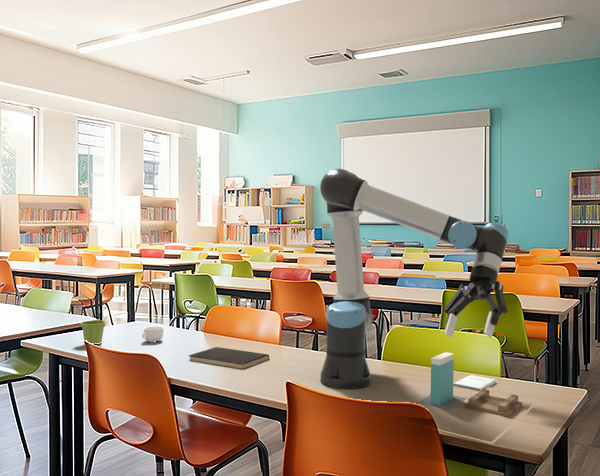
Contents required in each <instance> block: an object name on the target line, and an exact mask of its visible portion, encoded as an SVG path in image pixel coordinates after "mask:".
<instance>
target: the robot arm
mask: <svg viewBox="0 0 600 476" xmlns="http://www.w3.org/2000/svg"><path fill="white" fill-rule="evenodd" d="M320 181H321V182H320V185H319V187H320V194H321V196H322V198H323V200H324V201H325V202H326V212H327V216H328V217H330V219H332V220H331V221H332V231H333V233H332V234H333V243H334V244H333V245H334V257H335V258H334V259H335V261H334V262H335V272H336V273H335V274H336V275H335V276H336V287H337V288H336V289H337V293H336V294H335V295H334V296H333V303H332V304H329V306H328V307H327V310H326V315H325V318H326V357H325V358H324V359H325V360H324V362H323V365H322V368H321V371H320V377H319V378H320V383H321V384H323V385H325V386H327V387H330V388H336V389H347V390H348V389H352V390H353V389H359V388H361V389H362V388H364V387H368V386H369V385H371V381H372V379H371V378H372V374H371V372H370V369H369V365H368V361H367V359H366V334H367V333H368V332H369V331H370V329H371V327H372V324H373V319H374V318H373V316H374V315H373V311H372V310H371V302H370V295H369V294H368V293H367V292H366V291H365V285H364V274H363V273H364V271H363V269H364V268H363V256H362V255H363V254H362V244H361V230H360V216H361V215H362V214H363V212H367V213H369V214H372V215H374V216H377V217H380V218H382V219H385V220H387V221H390V222H393V223H395V224H396V225H397V224H398V225H400V226H403V227H405V228H408V229H411V230H414V231H416V232H418V233H422V234H424V235H426V236H429V237H432V238H434V239H437V240H440V241H442V242H444V243H447V244H450V245H451V246H454V247H456V248H458V249H467V250H471V251H473V252H476V254H475V258H474V261H473V264H472V268H471V271H470V273H469V274H470V275H469V284H468V285H463V284H460V285H459V287H458V289H457V291H456V293H455V294H454V295H453V297H452V298H451V299H450V301H449V302H448V303H447V305H446V306H445V307H444V309H443V312H444V313H446V315H447V319H446V321H445V324H446V326H445V329H444V334H445V336H447V337H448V338H453V335H454V332H455V328H456V325H457V322H458V315H459V314H460V313H461V312H462V311H463V310H464V309H465V308H466V307H467V306H469V304H470V303H473V302H474V301H479V300H482V301H484V300H486V302H487V304H488V306H489V307H490V310H491V311H489V312H488V315H487V318H486V323H485V327H484V330H483V334H485V335H486V336H487V337H488V338H492V337H493V334H494V331H495V326H497V324H498V322H499V318H500V316H501V314H507V313H508V308H507V304H506V300H505V294H504V285H503V284H502V283H501V282H500V281H498V275H499V272H500V268H501V264H502V262H503V261H502V260H503V258H504V255H505V250H506V246H507V245H508V238H509V230H508V228H507V227H506V226H504V225H503V224H500V223H497V222H494V223H493V222H489V223H486V224H485V226H484V227H481V226H477V225H475V224H472V223H471V222H469V221H468V220H462V219H460V218H458V217H454V216H451V215H449V214H447V213H444V212H441V211H438V210H435V209H433V208H430V207H428V206H424V205H422V204H419V203H417V202H414V201H413V200H412V201H411V200H410V199H406V198H404V197H401V196H398V195H396V194H393V193H390V192H388V191H386V190H383V189H381V188H377V187H375V186H373V185H369V183H368V181H367V180H365V179H362V178H360V177H359V176H358V175H356V174H355V173H354V172H353V173H352V172H350V171H349V170H347V169H344V168H335V169H332V170H331V169H330V170H329V171H327V173H325V174H324V176H323V177H322V179H321V180H320ZM493 291H494V295H495V299H496V302H495V300H494V297H493V296H492V294H491V293H492V292H493Z"/></svg>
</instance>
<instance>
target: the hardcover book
mask: <svg viewBox="0 0 600 476" xmlns="http://www.w3.org/2000/svg"><path fill="white" fill-rule="evenodd" d="M188 357H189V361H193V362H199V363H204V364H205V363H206V364H211V365H217V366H223V367H231V368H235V369H242V370H244V369H246V368H249V367H251V366H254V365H256V364H260V363H263V362H264V361H267V360H269V359H270V355H269V354H266V353H261V352H254V351H246V350H241V349H233V348H227V347H226V348H225V347H219V346H215V347H212V348H208V349H204V350H202V351H201V350H200V351H198V352H195V353H193V354H189V355H188Z"/></svg>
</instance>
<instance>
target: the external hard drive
mask: <svg viewBox="0 0 600 476" xmlns="http://www.w3.org/2000/svg"><path fill="white" fill-rule="evenodd" d="M496 383H497V379H495V378H490V377H483V376H479V375H475V374H474V375H473V374H470V375H468V376H466V377H464V378H462V379H459V380H458V381H455V382H453V387H458V388H459V387H460V388H464V389H467V390H468V389H469V390H474V391H479V392H480V391H481V390H483V389H486V388H490V387H491V386H493V385H495V384H496Z"/></svg>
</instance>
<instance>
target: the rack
mask: <svg viewBox="0 0 600 476" xmlns="http://www.w3.org/2000/svg"><path fill="white" fill-rule="evenodd" d="M467 400H468V401H467V402H466V403H464V408H466V409H470V410H471V409H472V410H475V411H480V412H485V413H490V414H495V415H497V416H498V415H500V416H503V417H504V416H505V417H510V416H511V415H512V414H513V413H514V412H516V411H517V410H518V409H519V408H520V407H521V406H522V403H523V402H522V401H519V395H516V394H511V395H510V396H508V397H507V398H502V397H498V396H492V395H490V390H489V389H486V388H484V389H482V390H481V391H479V392H477V393H475V394H474V395H472V396H471V397H469V398H468V399H467Z"/></svg>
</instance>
